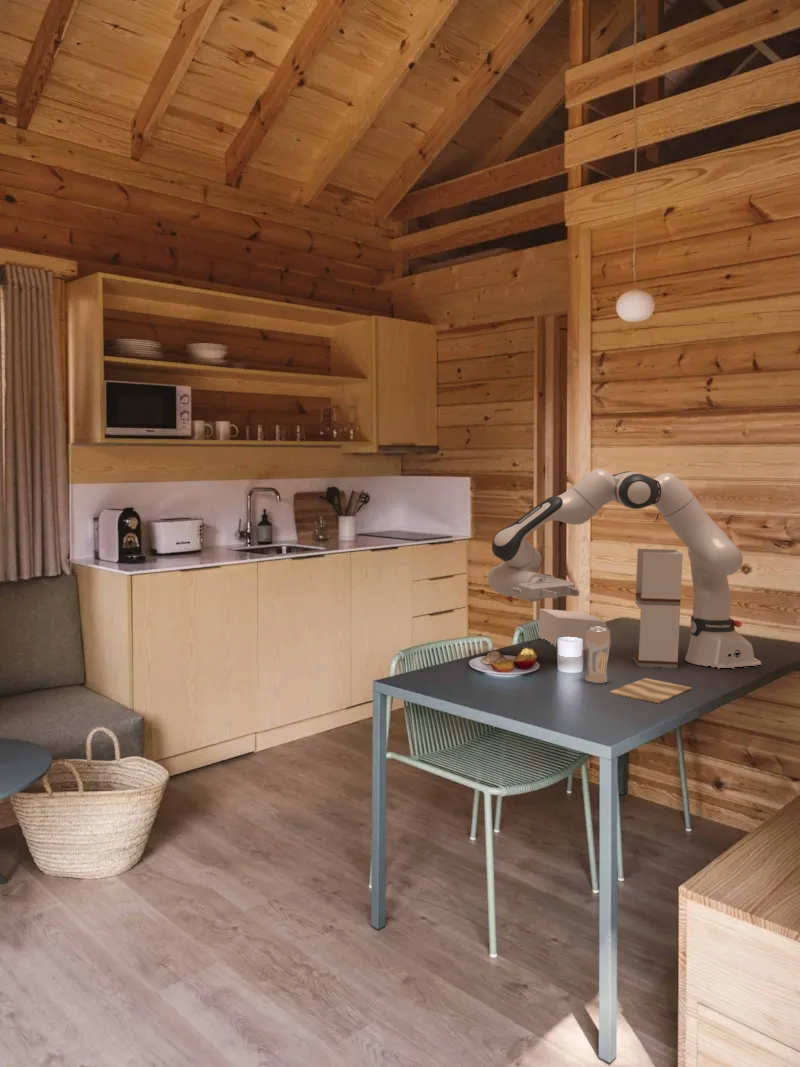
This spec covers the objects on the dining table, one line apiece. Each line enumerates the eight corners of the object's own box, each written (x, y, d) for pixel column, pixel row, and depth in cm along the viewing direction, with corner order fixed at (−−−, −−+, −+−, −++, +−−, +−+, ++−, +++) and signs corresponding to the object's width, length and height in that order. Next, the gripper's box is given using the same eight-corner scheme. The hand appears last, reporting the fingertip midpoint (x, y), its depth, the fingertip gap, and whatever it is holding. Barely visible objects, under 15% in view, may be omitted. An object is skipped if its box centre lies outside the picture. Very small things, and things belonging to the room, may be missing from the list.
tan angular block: (552, 634, 310) (553, 606, 309) (619, 650, 287) (620, 619, 286) (524, 639, 301) (525, 610, 300) (590, 656, 278) (592, 624, 277)
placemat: (644, 679, 249) (644, 678, 249) (691, 689, 240) (691, 687, 240) (609, 693, 235) (610, 691, 235) (658, 703, 225) (658, 702, 225)
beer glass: (612, 679, 249) (614, 628, 247) (604, 685, 243) (606, 632, 241) (588, 676, 252) (590, 625, 251) (580, 681, 246) (582, 629, 245)
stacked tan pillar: (670, 660, 274) (675, 549, 271) (677, 668, 263) (682, 553, 260) (633, 658, 275) (637, 548, 272) (638, 666, 265) (643, 552, 261)
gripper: (509, 578, 257) (545, 586, 247) (553, 574, 270) (589, 581, 260) (507, 599, 258) (543, 607, 247) (552, 594, 271) (588, 602, 261)
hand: (567, 594), depth 254 cm, fingers open, 8 cm apart
